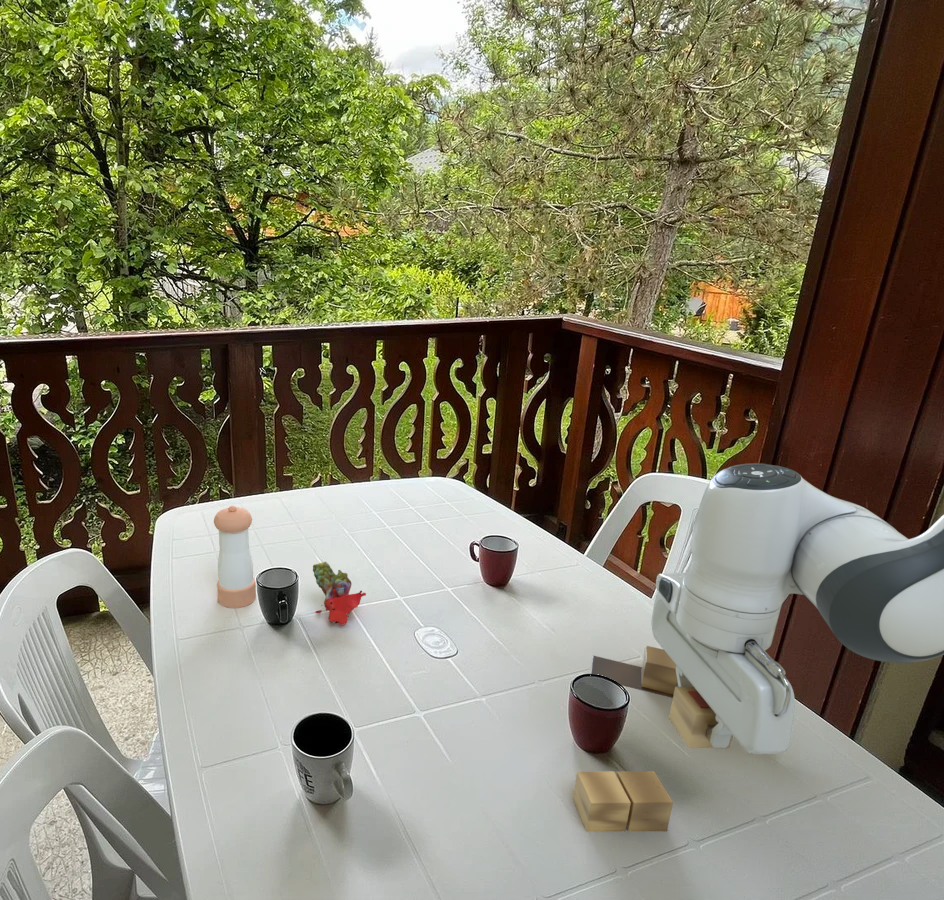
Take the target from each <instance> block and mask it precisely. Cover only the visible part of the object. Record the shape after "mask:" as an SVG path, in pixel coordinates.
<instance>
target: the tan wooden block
mask: <svg viewBox="0 0 944 900" xmlns="http://www.w3.org/2000/svg"><path fill="white" fill-rule="evenodd" d="M669 710H670V711H669V714H668V715H669V716H668V720H669V722H670V724H672V726H673V727H674V729H675V730H676V731H677V733H678V735H679V736H680V737H681V739H682V740H683V742H684V743H685V744H686V746H687V747H688V748H689V749H715V748H714V747H713V746H712V745H711V743H710V742H709V741H708V739H707V738H706V736H705V734H706V729H707V725H717V724H718V722H717V721H716V719H715V717H716V714H715V712H714V711H713V710H712V709H711V707H710V706H709V705H708V704H707V703H706V701H705V700H704V699H703V698H702V696H701V695H700V694H699V693H698V691H697V690H696V689H695V688H694V687H675V691H674V696H673V698H672V701H671V706H670V709H669ZM733 737H734V736H733V735H731V738H730V742H729V745H728V746H727V747H726V748H725V749H730V748H731V744H732V740H733Z"/></svg>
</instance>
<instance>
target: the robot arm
mask: <svg viewBox="0 0 944 900" xmlns="http://www.w3.org/2000/svg"><path fill="white" fill-rule="evenodd" d="M692 529H693V530H692V534H691V539H690V549H691V560H690V563H689V565H688V567H687V569H686V570H685V572H667V573H658V574H657V576H656V580H655V589H656V591H657V593H656V594H655V597H654V602H653V606H652V607H653V608H652V612H651V613H652V614H651V621H650V622H651V623H650V626H651V633H652V636H653V639H654V640H655V641H656V643H658V645H659V646H660V647H661V649H663V650H664V651H665V652H666V653H667V654H668V656H669V657H670V658H671V659H672V660H673V662H674V663H675V664H676V676H677V681H678V687H694V688H695V689H696V690H697V691H698V693H699V694H700V695H701V696H702V698H703V699H704V700H705V701H706V703H707V704H708V705H709V706H710V707H711V709H712V710H713V711H714V712H715V714H716V717H715V719H716V721H717V722H718V724H717V725H707V729H706V734H705V736H706V738H707V739H708V741H709V742H710V743H711V745H712V746H713V747H714V748H713V749H727V748H726V747H727V746H728V745H729V742H730V738H731V735H733V737H734V739H735V740H736V742H738V744H739V745H740V746H741V747H742V749H743V750H745V751H746V752H747V753H749V754H755V755H774V754H775V755H776V754H780V753H781V754H782V753H784V752H786V751H787V750H788V749H789V746H790V742H791V737H792V731H793V726H794V725H793V724H794V719H795V718H794V717H795V704H796V703H795V702H796V700H795V699H796V697H795V693H794V689H793V686H792V684H791V683H790V681H789V680H788V679H787V677H786V674H787V673H786V670H785V669H784V668H783V666H782V665H781V664H780V663H779V662H777V661H776V660H774V659H773V658H772V657H771V656H770V654H769V653H768V652H767V650H768V649H770V648H771V646H772V644H773V640H774V636H775V632H776V629H777V626H778V625H777V624H778V620H779V617H780V613H781V610H782V606H783V602H784V599H785V598H786V597H787V596H788V595H792V594H793V595H794V594H795V595H800V596H801V595H803V596H805V597H806V598H807V599H808V600H809V601H810V602H811V604H812V605H813V606H814V607H815V608H816V609H817V610H818V612H819V614H820V616H821V617H822V619H823V620H824V622H825V624H827V626H828V628H829V629H830V630H831V632H832V634H833V635H834V636H835V638H836V639H837V640H838V641H839V642H840V644H842V645H843V646H844V647H845V648H846V649H848V650H849V651H851V652H853V653H854V654H857V655H859V656H861V657H863V658H866V659H869V660H873V661H877V662H883V663H893V664H894V663H896V664H910V663H920V662H926V661H930V660H933V659H936V658H940V657H942V656H944V513H943V514H942V515H941V516H940V517H939V518H938V519H937V520H936V521H935V522H934V523H933V524H932V525H931V526H930V527H929V528H928V529H927V530H926V531H924V532H923V533H921V534H919V535H917V536H914V537H912V538H908V537H906V536H905V535H903V534H902V533H901V532H899V531H898V530H897V529H896V528H895V527H893V526H892V525H891V524H890V523H888V522H887V521H885V520H884V519H882V518H881V517H880V516H878V515H877V514H875V513H874V512H872V511H870V510H869V509H867V508H866V507H863V506H861V505H859V504H857V503H854V502H852V501H848V500H844V499H840V498H838V497H835V496H832V495H831V494H828V493H826V492H825V491H823V490H821V489H819V488H818V487H816V486H814V485H812V484H811V483H810V482H808V481H807V480H806V479H805V478H804V477H802V475H801V474H799V472H797V471H796V470H793V469H790V468H789V467H784V466H781V465H775V464H774V465H773V464H767V463H756V462H755V463H753V462H752V463H741V464H736V465H732V466H729V467H726V468H724V469H721V470H720V471H718V472H717V473H716V474H714V475H713V476H712V478H711V479H710V480H709V482H708V484H707V486H706V488H705V490H704V493H703V494H702V497H701V500H700V503H699V507H698V509H697V513H696V516H695V521H694V525H693V528H692Z"/></svg>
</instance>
